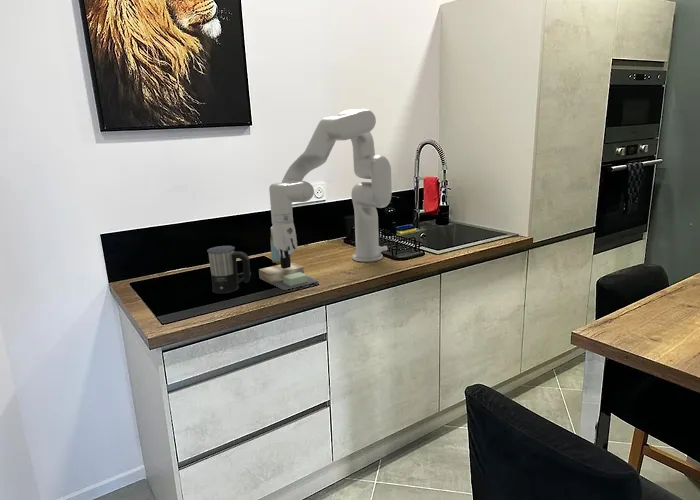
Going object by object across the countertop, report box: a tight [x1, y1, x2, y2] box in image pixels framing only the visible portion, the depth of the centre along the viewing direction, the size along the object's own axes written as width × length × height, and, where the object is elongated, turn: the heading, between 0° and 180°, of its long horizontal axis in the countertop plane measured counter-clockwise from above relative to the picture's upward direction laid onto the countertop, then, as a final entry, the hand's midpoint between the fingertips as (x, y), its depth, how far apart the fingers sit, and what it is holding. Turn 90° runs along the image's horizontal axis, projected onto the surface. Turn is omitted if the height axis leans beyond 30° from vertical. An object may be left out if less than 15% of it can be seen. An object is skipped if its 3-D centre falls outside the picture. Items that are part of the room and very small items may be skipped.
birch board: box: [258, 261, 305, 285], centre depth 180 cm, size 14×9×4 cm, turn 126°
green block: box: [283, 272, 308, 286], centre depth 172 cm, size 7×5×2 cm
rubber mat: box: [270, 275, 320, 291], centre depth 172 cm, size 14×10×1 cm
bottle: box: [270, 226, 281, 265], centre depth 198 cm, size 7×7×15 cm
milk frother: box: [206, 245, 252, 294], centre depth 170 cm, size 14×16×15 cm
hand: (285, 267), depth 176 cm, fingers closed
